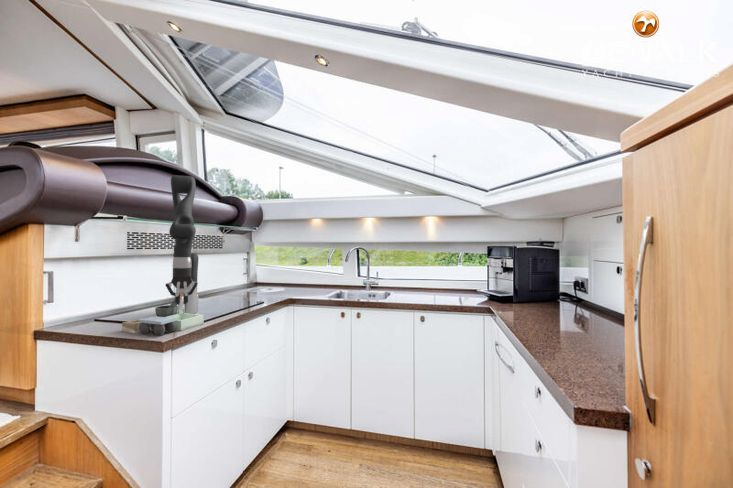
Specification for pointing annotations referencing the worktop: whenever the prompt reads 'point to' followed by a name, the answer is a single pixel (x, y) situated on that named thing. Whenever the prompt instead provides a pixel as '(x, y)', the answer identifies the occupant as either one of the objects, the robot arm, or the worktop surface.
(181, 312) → the stop pin
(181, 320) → the tray
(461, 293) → the worktop surface
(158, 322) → the trolley
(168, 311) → the mortar and pestle
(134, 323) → the stop block
